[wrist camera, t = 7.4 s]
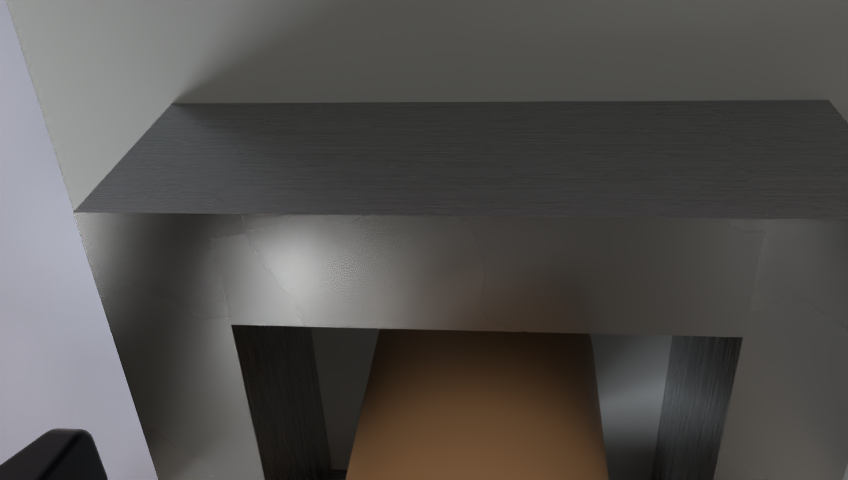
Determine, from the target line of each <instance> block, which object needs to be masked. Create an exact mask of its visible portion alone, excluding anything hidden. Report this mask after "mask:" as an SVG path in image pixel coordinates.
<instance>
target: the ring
mask: <svg viewBox="0 0 848 480" xmlns="http://www.w3.org/2000/svg"><path fill="white" fill-rule="evenodd" d="M73 214H74V217H75V220H76V223H77V227H78V230H79V233H80V236H81V239H82V242H83V245H84V248H85V252H86V255H87V258H88V261H89V264H90V267H91V270H92V273H93V277H94V280H95V283H96V286H97V289H98V292H99V295H100V298H101V302H102V305H103V308H104V311H105V314H106V317H107V320H108V323H109V327H110V330H111V333H112V336H113V339H114V342H115V345H116V348H117V352H118V355H119V358H120V361H121V364H122V367H123V370H124V373H125V377H126V380H127V383H128V386H129V389H130V392H131V395H132V398H133V402H134V405H135V408H136V411H137V414H138V417H139V420H140V423H141V427H142V430H143V433H144V436H145V439H146V442H147V445H148V448H149V452H150V455H151V458H152V461H153V464H154V467H155V470H156V473H157V477H158V480H346V475H347V471H348V470H341V469H332V463H331V457H330V450H329V444H328V437H327V431H326V424H325V417H324V411H323V404H322V398H321V391H320V385H319V378H318V371H317V365H316V358H315V352H314V345H313V339H312V332H311V327H340V328H381V329H423V330H464V331H505V332H546V333H587V334H628V335H670V336H672V343H671V349H670V356H669V363H668V369H667V376H666V383H665V389H664V396H663V403H662V409H661V416H660V422H659V429H658V436H657V442H656V449H655V456H654V462H653V469H652V476H651V480H842V479H843V476H844V473H845V470H846V467H847V464H848V123H847V121H846V120H845V119H844V118H843V117H842V115H841V114H840V113H839V112H838V111H837V109H836V108H835V107H834V106H833V105H832V103H831V102H830V101H829V100H725V101H537V102H349V103H172V104H171V105H170V106H169V107H168V108H167V109H166V110H165V111H164V112H163V114H162V115H161V116H160V117H159V118H158V119H157V120H156V121H155V122H154V123H153V125H152V126H151V127H150V128H149V129H148V130H147V131H146V132H145V133H144V135H143V136H142V137H141V138H140V139H139V140H138V141H137V142H136V143H135V144H134V146H133V147H132V148H131V149H130V150H129V151H128V152H127V153H126V154H125V155H124V157H123V158H122V159H121V160H120V161H119V162H118V163H117V164H116V165H115V167H114V168H113V169H112V170H111V171H110V172H109V173H108V174H107V175H106V176H105V178H104V179H103V180H102V181H101V182H100V183H99V184H98V185H97V186H96V187H95V189H94V190H93V191H92V192H91V193H90V194H89V195H88V196H87V197H86V199H85V200H84V201H83V202H82V203H81V204H80V205H79V206H78V207H77V208H76V210H75V211H74V212H73Z"/></svg>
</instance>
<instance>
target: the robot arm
mask: <svg viewBox="0 0 848 480" xmlns="http://www.w3.org/2000/svg"><path fill="white" fill-rule="evenodd" d="M0 480H108V479H107V475H106V472H105V469H104V467H103V464H102V461H101V459H100V456H99V453H98V451H97V448H96V445H95V442H94V440H93V438H92V436H91V434H90V433H89V432H87V431H86V430H83V429H52V430H50V431H48V432H46V433H45V434H43V435H42V436H40V437H39V438H38V439H36V440H35V441H33V442H32V443H31V444H29V445H28V446H26V447H25V448H24V449H22V450H21V451H19V452H18V453H17V454H15V455H14V456H12V457H11V458H10V459H8V460H7V461H5V462H4V463H3V464H1V465H0Z"/></svg>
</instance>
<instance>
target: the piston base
mask: <svg viewBox="0 0 848 480" xmlns="http://www.w3.org/2000/svg"><path fill="white" fill-rule="evenodd" d="M6 2H7V5H8V8H9V11H10V14H11V17H12V21H13V24H14V27H15V30H16V33H17V36H18V39H19V42H20V45H21V49H22V52H23V55H24V58H25V61H26V64H27V67H28V70H29V73H30V76H31V80H32V83H33V86H34V89H35V92H36V95H37V98H38V101H39V104H40V108H41V111H42V114H43V117H44V120H45V123H46V126H47V129H48V132H49V135H50V139H51V142H52V145H53V148H54V151H55V154H56V157H57V160H58V163H59V167H60V170H61V173H62V176H63V179H64V182H65V185H66V188H67V191H68V195H69V198H70V201H71V204H72V207H73V210H74V211H75V210H76V208H77V207H78V206H79V205H80V204H81V203H82V202H83V201H84V200H85V199H86V197H87V196H88V195H89V194H90V193H91V192H92V191H93V190H94V189H95V187H96V186H97V185H98V184H99V183H100V182H101V181H102V180H103V179H104V178H105V176H106V175H107V174H108V173H109V172H110V171H111V170H112V169H113V168H114V167H115V165H116V164H117V163H118V162H119V161H120V160H121V159H122V158H123V157H124V155H125V154H126V153H127V152H128V151H129V150H130V149H131V148H132V147H133V146H134V144H135V143H136V142H137V141H138V140H139V139H140V138H141V137H142V136H143V135H144V133H145V132H146V131H147V130H148V129H149V128H150V127H151V126H152V125H153V123H154V122H155V121H156V120H157V119H158V118H159V117H160V116H161V115H162V114H163V112H164V111H165V110H166V109H167V108H168V107H169V106H170V105H171V104H172V103H349V102H537V101H725V100H829V101H830V102H831V103H832V105H833V106H834V107H835V108H836V109H837V111H838V112H839V113H840V114H841V115H842V117H843V118H844V119H845V120H846V121H847V123H848V0H6ZM311 332H312V339H313V345H314V352H315V358H316V365H317V371H318V378H319V385H320V391H321V398H322V404H323V411H324V417H325V424H326V431H327V437H328V444H329V450H330V457H331V463H332V469H341V470H348V471H347V475H346V480H651V476H652V469H653V462H654V456H655V449H656V442H657V436H658V429H659V422H660V416H661V409H662V403H663V396H664V389H665V383H666V376H667V369H668V363H669V356H670V349H671V343H672V336H670V335H628V334H587V333H546V332H505V331H464V330H423V329H381V328H340V327H311ZM842 480H848V464H847V467H846V470H845V473H844V476H843V479H842Z"/></svg>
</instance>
